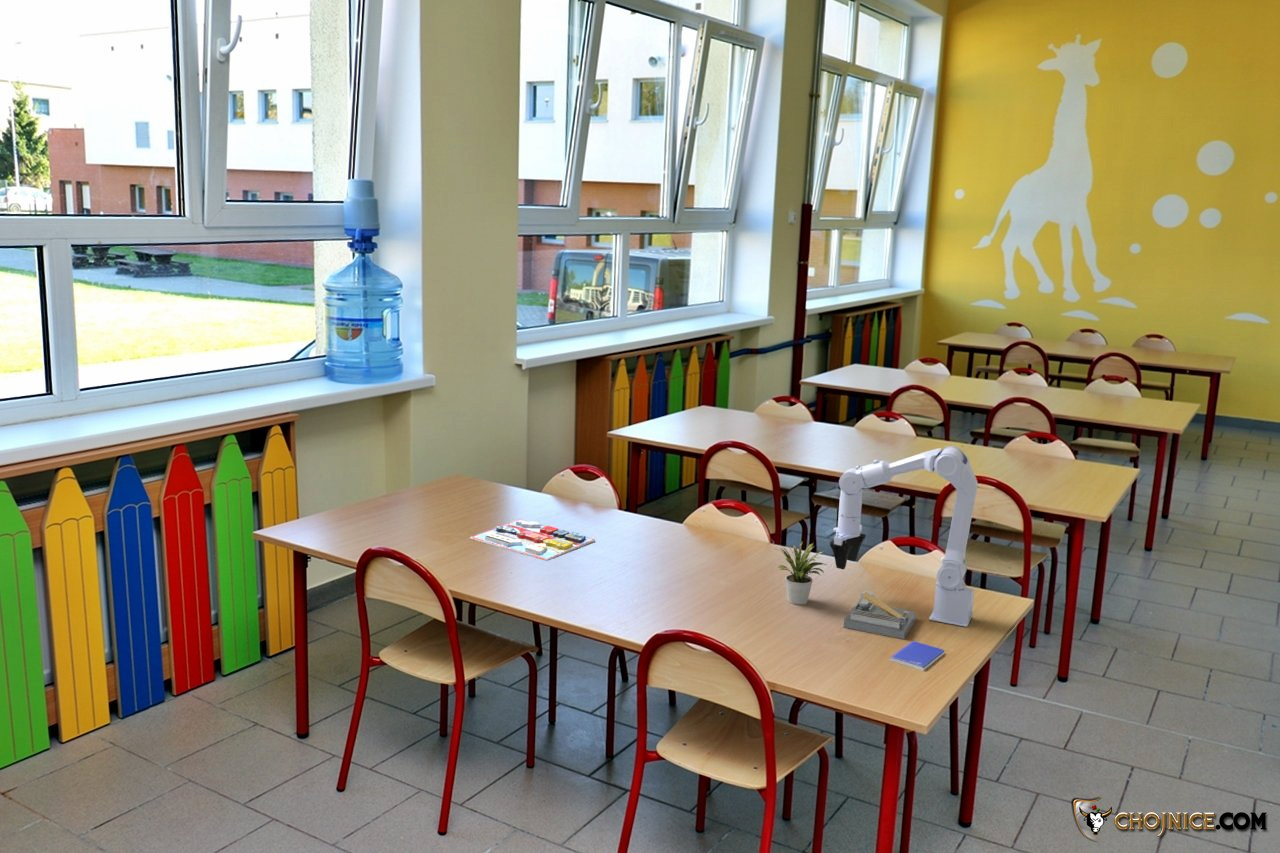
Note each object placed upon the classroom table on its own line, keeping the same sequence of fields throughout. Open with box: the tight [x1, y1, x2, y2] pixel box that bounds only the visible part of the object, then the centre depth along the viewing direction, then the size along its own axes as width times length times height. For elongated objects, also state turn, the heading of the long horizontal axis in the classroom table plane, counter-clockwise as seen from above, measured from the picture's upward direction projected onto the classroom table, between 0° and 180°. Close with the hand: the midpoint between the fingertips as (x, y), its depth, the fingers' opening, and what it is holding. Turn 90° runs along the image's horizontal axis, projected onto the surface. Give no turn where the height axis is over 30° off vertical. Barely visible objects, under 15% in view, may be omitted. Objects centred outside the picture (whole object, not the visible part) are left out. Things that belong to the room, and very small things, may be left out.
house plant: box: [775, 541, 828, 606], centre depth 286 cm, size 14×14×16 cm
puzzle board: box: [469, 518, 596, 562], centre depth 331 cm, size 30×23×3 cm
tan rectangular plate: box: [862, 592, 904, 618], centre depth 273 cm, size 11×3×1 cm, turn 66°
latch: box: [859, 590, 875, 607], centre depth 281 cm, size 3×5×3 cm, turn 155°
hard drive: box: [889, 640, 945, 672], centre depth 256 cm, size 2×8×12 cm
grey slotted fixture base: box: [843, 597, 918, 640], centre depth 275 cm, size 15×15×4 cm
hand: (846, 564), depth 288 cm, fingers open, 7 cm apart
